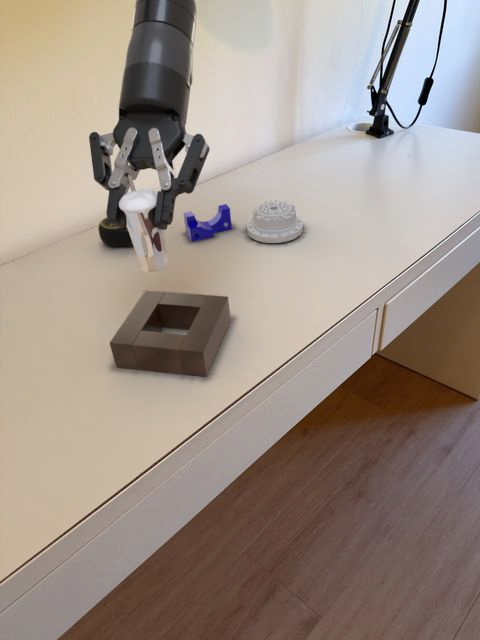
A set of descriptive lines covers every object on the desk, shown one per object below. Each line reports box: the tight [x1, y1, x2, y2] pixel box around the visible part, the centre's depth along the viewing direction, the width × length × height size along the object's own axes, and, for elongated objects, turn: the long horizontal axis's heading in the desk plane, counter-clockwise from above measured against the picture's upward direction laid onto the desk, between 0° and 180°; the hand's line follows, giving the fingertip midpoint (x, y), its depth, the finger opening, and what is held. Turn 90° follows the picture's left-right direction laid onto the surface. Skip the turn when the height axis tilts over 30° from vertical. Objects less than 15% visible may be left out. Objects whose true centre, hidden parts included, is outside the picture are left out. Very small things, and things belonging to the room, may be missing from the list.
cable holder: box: [183, 203, 233, 243], centre depth 94 cm, size 8×4×4 cm, turn 112°
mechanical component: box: [246, 199, 304, 244], centre depth 93 cm, size 10×4×10 cm
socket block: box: [109, 289, 232, 378], centre depth 69 cm, size 12×12×4 cm
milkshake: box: [119, 175, 169, 273], centre depth 60 cm, size 4×5×10 cm
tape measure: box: [97, 217, 133, 247], centre depth 93 cm, size 7×7×4 cm
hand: (138, 225), depth 58 cm, fingers closed on milkshake, 4 cm apart
